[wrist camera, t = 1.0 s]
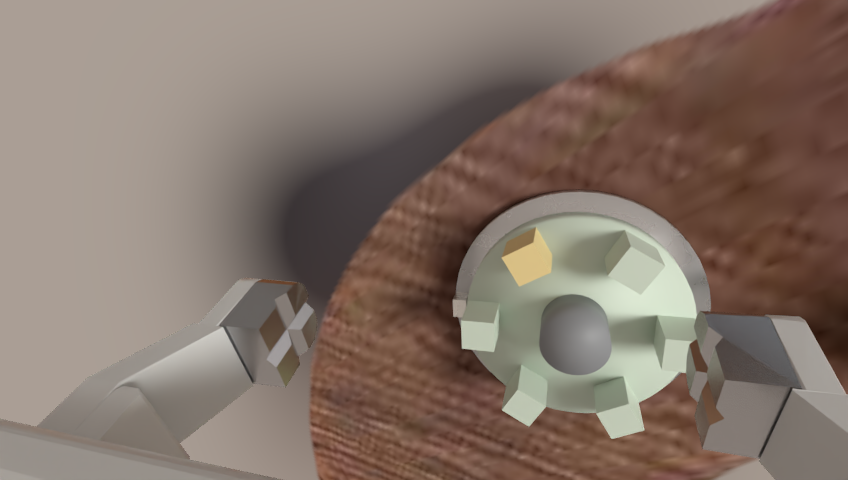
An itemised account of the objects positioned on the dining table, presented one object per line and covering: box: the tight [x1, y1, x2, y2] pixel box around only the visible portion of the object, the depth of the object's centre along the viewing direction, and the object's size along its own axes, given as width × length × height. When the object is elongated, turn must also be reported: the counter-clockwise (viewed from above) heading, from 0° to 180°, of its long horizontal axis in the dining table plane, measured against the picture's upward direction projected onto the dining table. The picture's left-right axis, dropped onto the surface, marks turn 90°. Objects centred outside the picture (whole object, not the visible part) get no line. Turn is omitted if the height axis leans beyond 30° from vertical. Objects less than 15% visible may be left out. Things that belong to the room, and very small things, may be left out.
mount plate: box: [453, 190, 711, 385], centre depth 46 cm, size 24×24×3 cm
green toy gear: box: [461, 212, 697, 439], centre depth 43 cm, size 21×21×6 cm
